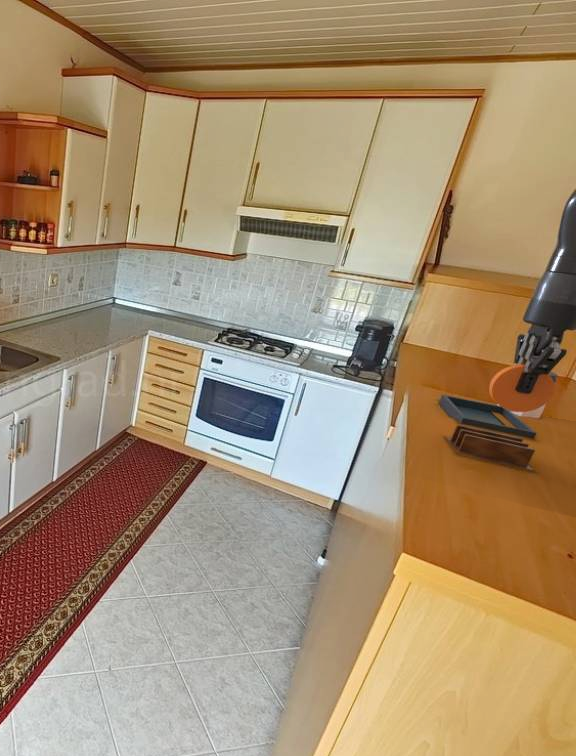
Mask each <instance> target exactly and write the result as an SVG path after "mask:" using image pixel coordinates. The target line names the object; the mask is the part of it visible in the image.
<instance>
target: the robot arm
mask: <svg viewBox="0 0 576 756" xmlns="http://www.w3.org/2000/svg"><path fill="white" fill-rule="evenodd" d="M522 321H523V322H524V323H526V324H530V327H529V328H528V329H527V332H526V333H525V334H523V333H519V334H518V336H517V339H516V346H515V353H514V359H513V363H514V364H515V365H519V364H525V367H524V369H523V372H522V374H521V377H520V379H519V381H518V384H517V386H516V388H515V390H516V391H517V392H519V393H525V394H530V393H531V392H532V390H533V388H534V385H535V383H536V381H537V379H538V377H539V375H540V376H541V375H542V374H544V375H547V374H548V373H549V372H552V370H553V369H554V368H556V366H557V365H558V364H559V363H560V362H561V360H562V359H563V358H564V357H565V356H566V354H567V352H568V351H567V349H564V348H561V345H562V343H563V340H564V335H565V332H566V331H576V188H574V190H573V191H572V192H571V194H570V195H569V196H568V199H567V200H566V202H565V205H564V208H563V210H562V213H561V217H560V221H559V227H558V232H557V241H556V245H555V247H554V249H553V250H552V253H551V255H550V257H549V260H548V263H547V264H546V268H545V270H544V272H543V273H542V275H541V277H540V278H539V280H538V282H537V283H536V285H535V288H534V290H533V293H532V296H531V298H530V300H529V302H528V304H527V306H526V309H525V312H524V314H523V317H522Z"/></svg>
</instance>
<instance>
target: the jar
mask: <svg viewBox="0 0 576 756" xmlns="http://www.w3.org/2000/svg"><path fill="white" fill-rule="evenodd" d="M548 374H549V375H550V376H551V377H552V379H553V381H554V384H555V383H556V382H557V380H558V377H559V375H558V374H557V373H556V372H553V371H550V372H549V373H548ZM496 405H498V404H497V403H496ZM546 405H547V403H546V404H545V405H543V406H542V407H540V408H538V409H535V410H532V411H527V412H513V411H511V412H512V413H513V414H515V415H516V416H519V417H525V418H534V419H540V418H541V416H542V414H543V412H544V410H545V408H546ZM498 406H499V405H498Z"/></svg>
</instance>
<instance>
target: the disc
mask: <svg viewBox="0 0 576 756" xmlns="http://www.w3.org/2000/svg"><path fill="white" fill-rule="evenodd" d="M524 367H525V364H519V365H517V364H514V365H510V366H507V367H505V368H503V369H501V370H499V371H498V372H497V373H496V374H495V375H494V376H493V377H492V379H491V381H490V383H489V387H488V393H489V395H490V397H491V399H492V400H493V402H494V403H496V405H497V404H498V405H499V406H501V407H502V408H504V409H506V410H509V411H513V412H527V411H532V410H535V409H538V408H540V407H542V406H543V405H545V404H546V405H547V404H548V402H549V401H550V400H551V399H552V398H553V395H554V393H555V390H556V389H555V386H556V385H555V383H554V381H553V379H552V377H551V376H550V375H549V374H547V375H544V374H542V375H541V376H540V375H539V377H538V379H537V381H536V383H535V385H534V388H533V390H532V392H531V393H530V394H525V393H519V392H517V391H516V390H515V388H516V386H517V384H518V381H519V379H520V377H521V374H522V372H523V369H524Z"/></svg>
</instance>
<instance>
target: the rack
mask: <svg viewBox="0 0 576 756" xmlns="http://www.w3.org/2000/svg"><path fill="white" fill-rule="evenodd" d="M445 437H446V439H447V441H449V443H450V444H451V445H452V447H453V448H454V450H455V451H456V452H457V454H459V455H464V456H468V457H472V458H475V459H476V458H477V459H480V460H486V461H490V462H493V463H497V464H498V463H499V464H503V465H506V466H512V467H516V468H520V469H524V470H529V471H534V469H533V468H532V467H531V466H530V465H529V464H530V462H531V460H532V458H533V456H534V453H535V452H536V450H535V449H534V448H531V447H529V446H530V444H529V443H528V442H523V441H524V438H523V437H518V436H515V435H510V434H505V433H501V432H496V431H491V430H490V431H489V430H487V429H482V428H477V427H476V428H475V427H472V426H468V425H467V426H466V425H463V424H456V426H455V428H454V431H453V433H452V435H451V436H448V435H445Z"/></svg>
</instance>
